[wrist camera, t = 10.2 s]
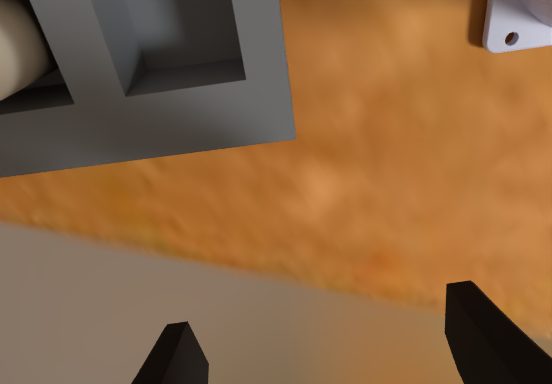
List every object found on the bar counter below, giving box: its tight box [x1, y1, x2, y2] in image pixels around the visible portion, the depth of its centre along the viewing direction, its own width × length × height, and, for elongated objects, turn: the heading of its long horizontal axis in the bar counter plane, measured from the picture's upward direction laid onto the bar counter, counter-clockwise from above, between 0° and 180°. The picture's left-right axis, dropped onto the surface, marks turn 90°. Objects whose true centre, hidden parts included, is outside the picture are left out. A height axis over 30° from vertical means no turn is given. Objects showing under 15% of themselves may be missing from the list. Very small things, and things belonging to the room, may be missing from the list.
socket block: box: [0, 0, 296, 178], centre depth 14 cm, size 13×9×4 cm
